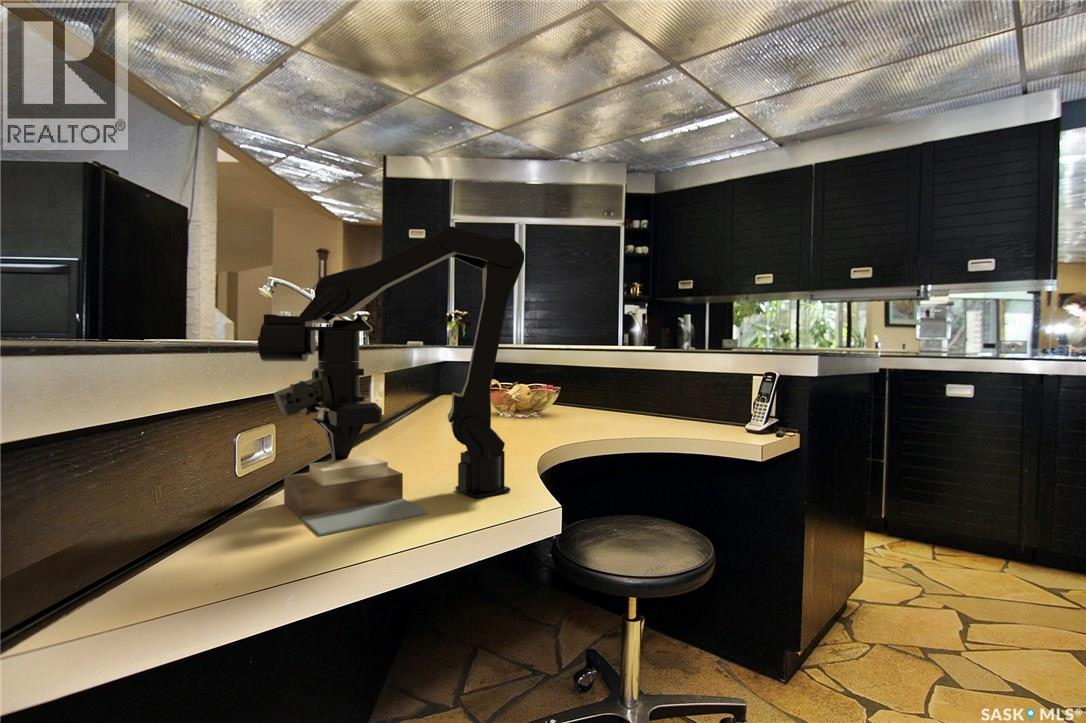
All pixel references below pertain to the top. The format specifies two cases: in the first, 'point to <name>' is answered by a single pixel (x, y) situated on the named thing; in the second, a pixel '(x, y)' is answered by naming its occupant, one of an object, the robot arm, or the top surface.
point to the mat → (362, 516)
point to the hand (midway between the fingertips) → (339, 466)
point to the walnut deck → (339, 493)
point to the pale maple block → (348, 470)
